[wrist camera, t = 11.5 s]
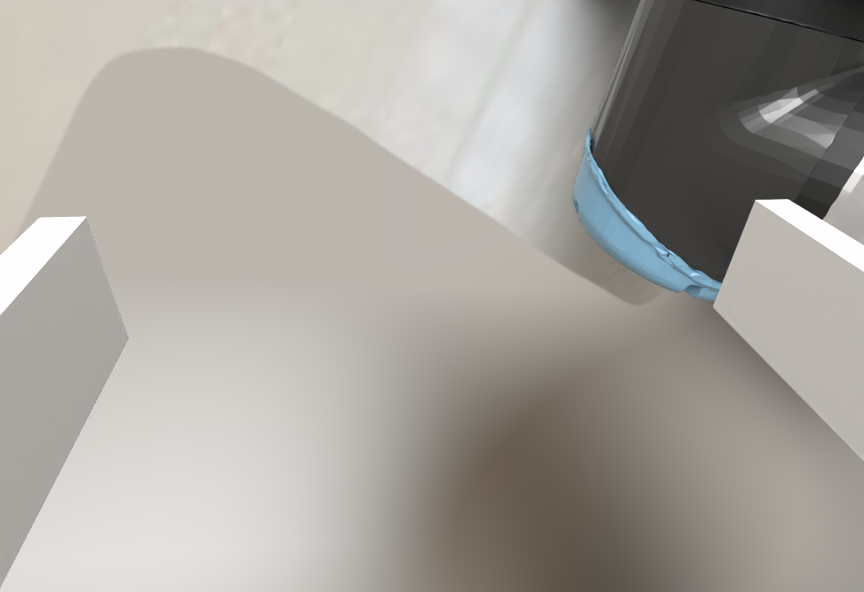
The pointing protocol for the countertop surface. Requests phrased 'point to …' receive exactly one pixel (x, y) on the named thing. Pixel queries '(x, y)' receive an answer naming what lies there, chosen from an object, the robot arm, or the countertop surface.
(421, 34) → the countertop surface
